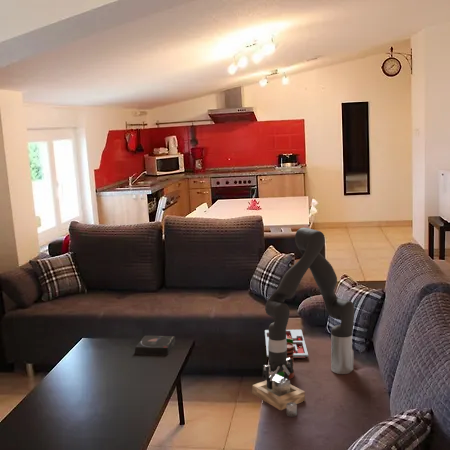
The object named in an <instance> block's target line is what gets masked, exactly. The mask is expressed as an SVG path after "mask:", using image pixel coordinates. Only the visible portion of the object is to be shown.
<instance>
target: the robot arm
mask: <svg viewBox="0 0 450 450" xmlns="http://www.w3.org/2000/svg"><path fill="white" fill-rule="evenodd" d="M325 240H326V238H325V235H324V233H323V231H319V230H316V229H313V228H309V227H300V228H299V229H297V231H296V232H295V237H294V241H295V244H296V247H297V249H298V250H299V252H300V253H301V255H302V256H301V257H300V259H298V260H297V262H295V263H294V265H292V266H291V267H290V268H289V269H288V270H287V271H286V272H285V273H284V275H283V276H282V278H281V280H280V282H279V284H278V287H277V288H276V290H274V292H273V293H272V295H270V297H269V298H268V299H267V301H266V303H265V307H264V310H265V311H264V312H265V313H266V315H267V316H269V317H271V318H274V322H272V323H270V324H269V326H268V330H269V342H268V352H269V357H268V360H269V363H268V364H263V366H262V379H263V380H264V381H267V387H268V388H269V389H272V379H273V377H274V376H275V375H276V374H277V373H279V372H282V371H283V372H284V373H285V374H284V378H286V379H288V380H290V379H289V374H290V373H292V372H293V370H294V360H293V361H292V359H291V358H288V357H287V341H286V330H287V327H288V322H289V319H290V315H291V314H290V307H289V306H288V304H287V303H286V302H285V300H286V299H292V298H293V297H294V296H295V294H296V292H297V289H298V287H299V285H300V283H301V281H302V280H303V278H304V276H305V274H306V273H307V272H308V270H310V272H311V275H312V278H313V279H314V281H315V284H316V285H317V287H318V288H317V289H318V290H319V292H320V295H321V297H322V299H323V302H324V305H325V308H326V311H327V314H328V315H329V317H330V318H332V319H335V320H339V321H340V324H338V325H336V324H335V325H333V326H332V327H331V331H330V332H331V334H330V337H331V339H330V341H331V345H330V346H331V347H330V348H331V351H330V352H331V353H330V355H331V356H330V364H331V366H330V368H331V369H330V370H331V372H333V373H335V374H338V375H346V374H350V373H352V371H353V370H354V349H353V330H354V324H355V323H354V322H355V305H354V303H353V302H352V301H351V300H347V299H343V298H339V297H338V296H337V294H336V292H335V289H336V286H337V284H338V276H337V274H336V271H335V269H334V267H333V265H332V264H331V262H329V261H328V260H327V258H326V257H325V256H323V254H321V251H322V250H323V247H324V245H325V243H326V242H325ZM286 364H287V368H286V367H285V366H286ZM270 375H271V377H270Z"/></svg>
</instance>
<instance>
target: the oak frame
mask: <svg viewBox="0 0 450 450" xmlns="http://www.w3.org/2000/svg"><path fill="white" fill-rule="evenodd" d="M251 393H252V395H253V396H255V397H257V398H258V399H260V400H261V401H263V402H265V403H267V404H269V405H271V406H272V407H274V408H276V409H277V410H279V411H283V410H285V409H287V408H286V404H287V403H289V402H293V403H296V404H297V405H298V404H300V403H303V401H304V402H306V394H305V393H306V391H305V390H303V389H301V388H298V387H296V386H295V385H292V384H291V383H290V393H288V394H285V395H283V396H280V397H279V396H277V395H275V394H273V393H272V392H270V391H268V390H267V381H266V380H264V381H260V382H257V383H255V384H252V391H251Z"/></svg>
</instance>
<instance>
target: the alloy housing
mask: <svg viewBox="0 0 450 450" xmlns="http://www.w3.org/2000/svg"><path fill="white" fill-rule="evenodd" d="M270 377H271V375H270ZM290 384H291V380H290V379H289V380H288V379H286V378H284V377H282V376H280V375H278V374H276V375H275V376H274V377H273V379H272V389H269V388H268V387H267V390H268V391H270V392H272V393H273V394H275V395H277V396H279V397H280V396H283V395H285V394H288V393H290Z"/></svg>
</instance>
